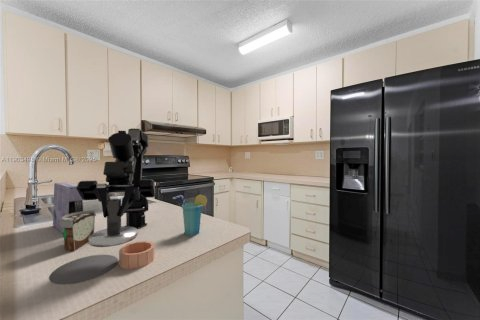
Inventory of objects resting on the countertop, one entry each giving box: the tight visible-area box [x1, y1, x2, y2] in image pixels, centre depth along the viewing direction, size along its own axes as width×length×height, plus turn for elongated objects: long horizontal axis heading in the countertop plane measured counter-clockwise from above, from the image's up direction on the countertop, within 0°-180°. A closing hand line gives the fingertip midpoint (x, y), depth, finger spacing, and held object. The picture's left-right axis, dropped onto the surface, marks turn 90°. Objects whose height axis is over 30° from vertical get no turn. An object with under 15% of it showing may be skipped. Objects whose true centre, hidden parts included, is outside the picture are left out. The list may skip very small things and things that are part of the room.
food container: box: [59, 210, 97, 252], centre depth 68 cm, size 12×6×10 cm, turn 5°
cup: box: [171, 194, 208, 236], centre depth 79 cm, size 14×8×15 cm, turn 136°
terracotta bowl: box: [118, 240, 156, 270], centre depth 58 cm, size 8×8×4 cm
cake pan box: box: [52, 181, 84, 233], centre depth 82 cm, size 19×5×18 cm, turn 54°
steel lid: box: [88, 198, 139, 248], centre depth 56 cm, size 11×11×10 cm
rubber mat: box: [48, 254, 119, 285], centre depth 54 cm, size 14×14×1 cm
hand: (112, 216), depth 55 cm, fingers closed on steel lid, 3 cm apart
